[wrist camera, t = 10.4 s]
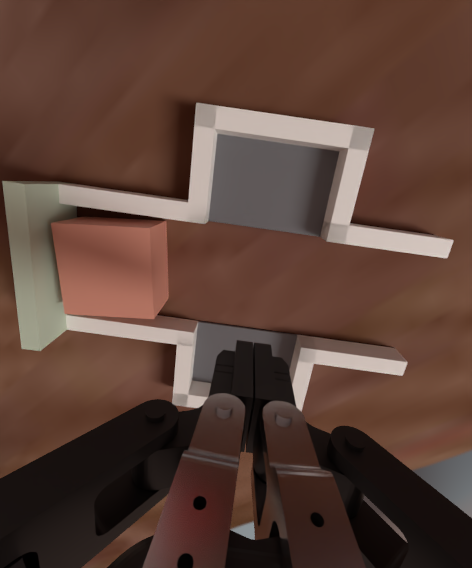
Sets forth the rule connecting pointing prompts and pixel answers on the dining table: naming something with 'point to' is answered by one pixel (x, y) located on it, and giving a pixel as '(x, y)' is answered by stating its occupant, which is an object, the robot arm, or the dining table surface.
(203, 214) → the box
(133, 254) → the block
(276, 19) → the dining table surface
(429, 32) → the dining table surface
